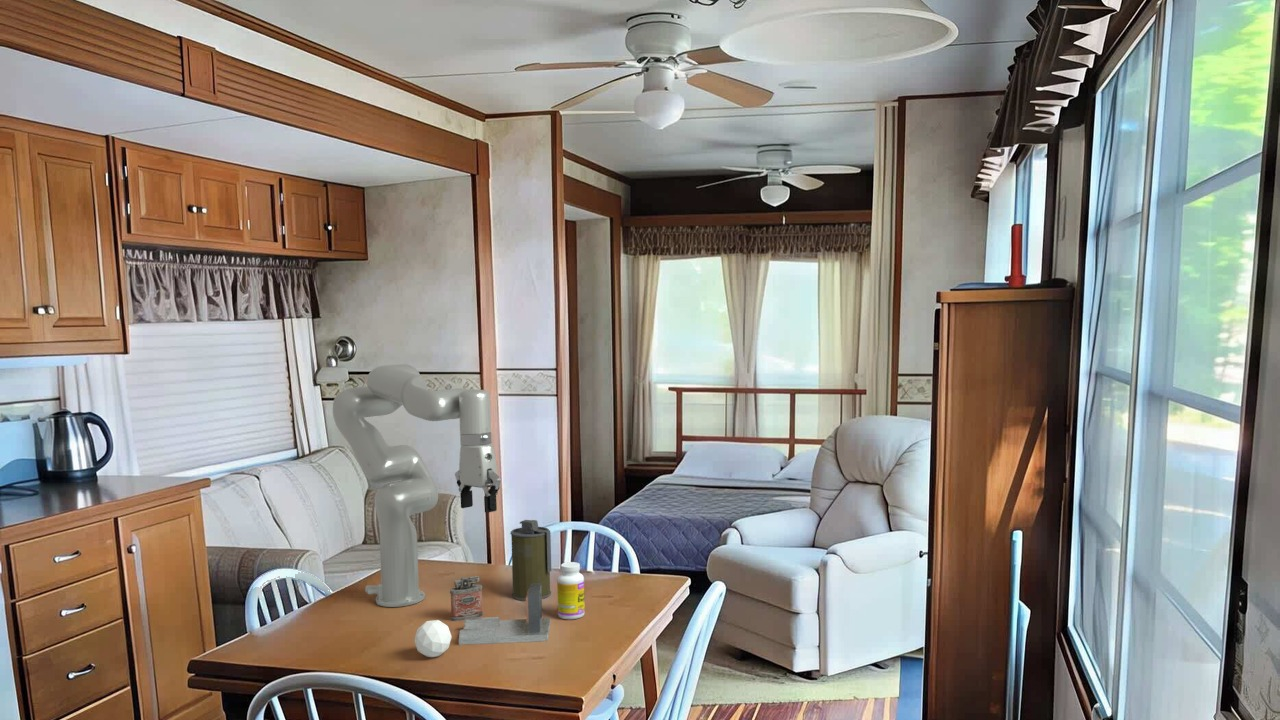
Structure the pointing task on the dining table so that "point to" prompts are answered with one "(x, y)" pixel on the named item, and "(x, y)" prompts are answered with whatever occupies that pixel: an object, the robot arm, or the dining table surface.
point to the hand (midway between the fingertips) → (478, 509)
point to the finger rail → (509, 625)
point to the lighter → (466, 599)
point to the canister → (530, 559)
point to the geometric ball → (432, 638)
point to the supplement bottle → (570, 592)
